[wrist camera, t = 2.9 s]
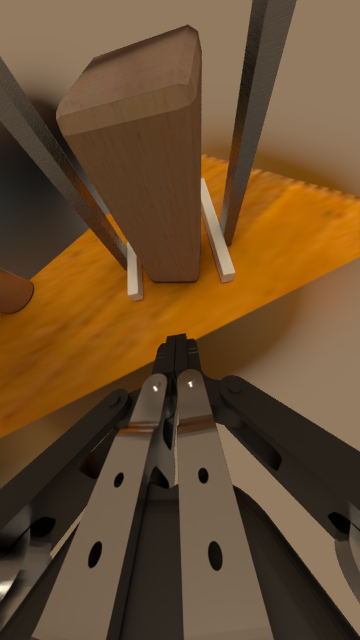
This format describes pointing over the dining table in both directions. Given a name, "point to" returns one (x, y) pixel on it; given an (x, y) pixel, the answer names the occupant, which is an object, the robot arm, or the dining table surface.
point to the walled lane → (216, 242)
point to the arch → (255, 91)
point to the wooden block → (145, 146)
